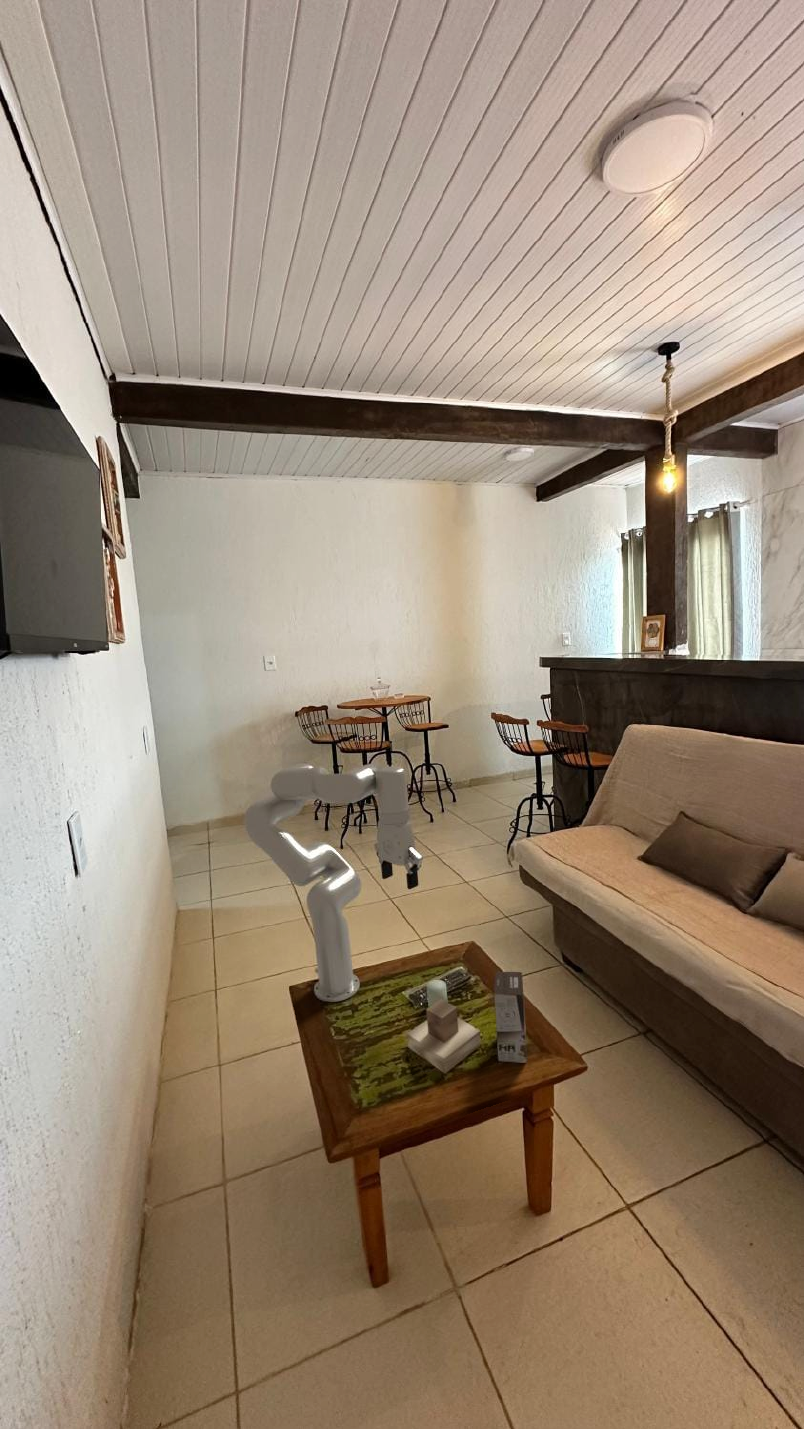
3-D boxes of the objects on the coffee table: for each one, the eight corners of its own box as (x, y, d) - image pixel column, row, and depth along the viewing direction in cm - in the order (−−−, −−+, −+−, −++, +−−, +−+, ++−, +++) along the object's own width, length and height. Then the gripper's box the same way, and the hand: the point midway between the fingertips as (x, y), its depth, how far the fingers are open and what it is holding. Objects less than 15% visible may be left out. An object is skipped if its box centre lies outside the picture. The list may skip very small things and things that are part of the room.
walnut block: (428, 1033, 130) (426, 1009, 129) (442, 1022, 133) (440, 998, 132) (444, 1043, 126) (442, 1018, 125) (458, 1031, 129) (456, 1007, 129)
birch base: (408, 1049, 131) (407, 1033, 130) (444, 1023, 138) (442, 1008, 138) (445, 1075, 122) (444, 1058, 121) (481, 1046, 129) (480, 1030, 129)
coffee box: (527, 1063, 122) (523, 995, 120) (497, 1061, 124) (493, 994, 122) (526, 1035, 131) (522, 971, 129) (499, 1033, 133) (494, 970, 131)
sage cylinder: (424, 1007, 144) (422, 986, 144) (438, 998, 148) (436, 977, 147) (437, 1016, 141) (435, 994, 140) (452, 1007, 144) (450, 985, 143)
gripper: (361, 814, 143) (367, 878, 145) (406, 827, 130) (412, 897, 132) (383, 807, 148) (389, 869, 149) (429, 818, 135) (434, 886, 137)
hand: (400, 882), depth 141 cm, fingers open, 9 cm apart
